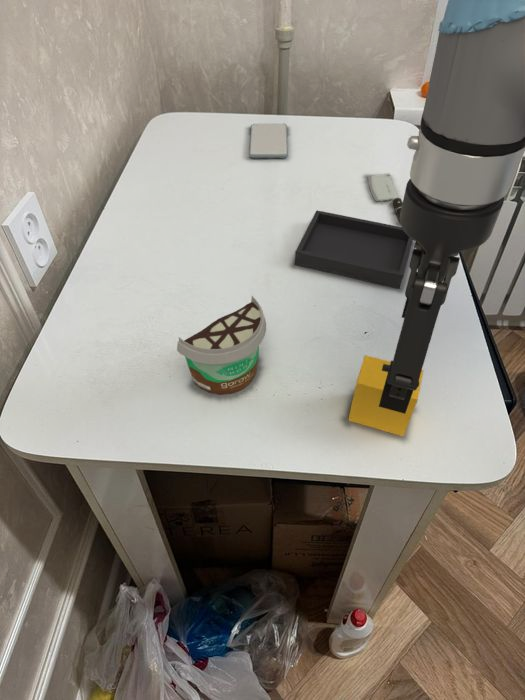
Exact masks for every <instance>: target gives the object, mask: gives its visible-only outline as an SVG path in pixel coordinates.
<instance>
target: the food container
mask: <svg viewBox="0 0 525 700" xmlns="http://www.w3.org/2000/svg"><path fill="white" fill-rule="evenodd" d="M266 332H267V321H266V318H265V313H264V311H263V309H262V306H261V304H259V301H257V299H256V298H255V296H253V295H251V299H250V302H249V303H247V304H246V305H244V306H242V307H241V308H239V309H237V310H235V311H233V312H231V313H228V314H226V315H224V316H221V317H219V318H218V319H216V320H215V321H213V322H212V323H210V324H209V325H207V326H206V327H205V328H203V329H202V330H200V331H198V332H196V333H194V334H193V335H191V336H190V337H188V338H186V339H185V340H184V339H182V338H181V337H180V336H179V337H178V341H177V345H176V351H177V352H178V353H179V354H180V355H182V356H183V357H184V359H185V361H186V364H187V366H188V368H189V369H188V370H189V372H190V375H191V378H192V380H193V383H194V385H196V387H198V388H199V389H201V390H202V391H205V392H206V393H209V394H213V395H218V396H219V395H220V396H222V395H232V394H235V393H238V392H240V391H243V390H244V389H246V388H247V387H248V386H249V385H250V384H251V383H252V382H253V380H254V379H255V377H256V375H257V370H258V362H259V361H258V360H259V352H260V345H261V344H262V342H263V340H264V338H265V336H266Z"/></svg>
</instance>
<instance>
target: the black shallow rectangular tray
mask: <svg viewBox="0 0 525 700" xmlns="http://www.w3.org/2000/svg"><path fill="white" fill-rule="evenodd" d="M413 242H414V240H413V239H411V238H410V237H409V236H408V235H407V234H406V233H405V232H404V230H403V228H402V226H398V225H393V224H388V223H383V222H377V221H373V220H368V219H363V218H357V217H353V216H348V215H343V214H337V213H332V212H327V211H322V210H315V212H314V215H313V217H312V219H311V220H310V222H309V224H308V226H307V228H306V230H305V231H304V234H303V236H302V238H301V240H300V242H299V244H298V246H297V248H296V249H295V252H294V266H297V267H302V268H306V269H309V270H315V271H320V272H324V273H328V274H333V275H337V276H342V277H345V278H350V279H354V280H359V281H363V282H367V283H373V284H375V285H380V286H385V287H390V288H394V289H398V290H399V289H401V286H402V282H403V279H404V276H405V272H406V269H407V268H406V267H407V264H408V261H409V258H410V253H411V250H412V247H413V244H414V243H413Z"/></svg>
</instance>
